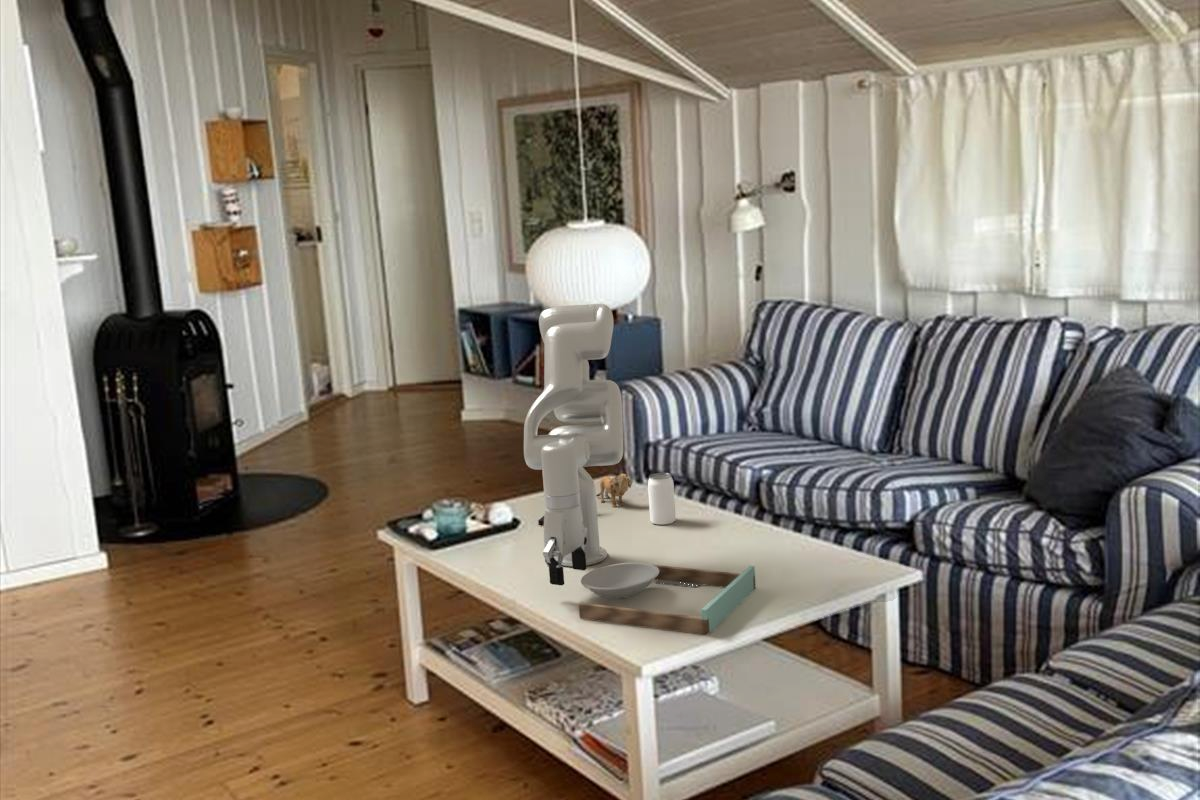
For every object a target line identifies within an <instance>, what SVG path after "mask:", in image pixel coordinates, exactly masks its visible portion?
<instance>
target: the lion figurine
mask: <svg viewBox="0 0 1200 800" xmlns="http://www.w3.org/2000/svg"><path fill="white" fill-rule="evenodd" d="M633 482H634V481H633V480H631V479H630V478H629V477H627V474H626V473H619V474H618V475H615V476H613V477H612V478H611V477H609V476H603V477H602V478H601V479H600V482H599V488H600V492H599V493H598V494H596V498H598V497H600V503H605V501H606V500H605V499H609V498H610V499H611V504H612V505H611V507H612V508H617V507H618V506H617V503H616V497H618V500H617V501H618V504H619V506H624V504H625V503H624V502H623V501H622V499H623V496H624V495H625V493H626V492H628V490H629V488H632V485H633ZM609 494H610V495H609ZM604 498H605V499H604Z"/></svg>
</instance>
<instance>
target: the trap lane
mask: <svg viewBox="0 0 1200 800" xmlns="http://www.w3.org/2000/svg"><path fill="white" fill-rule="evenodd" d="M650 564H651V563H650ZM651 565H654V566H656V567H657V568H658V569H659V575H658V576H657V577H656V578H655V579H658V580H655V579H654V580H655V582H656V583H655V584H660V583H662V585H669V584H673V585H672V586H678V585H682V586H681V587H687V586H691V587H690V588H696V587H698V586H699V585H700V584H705V585H704V586H710V585H712V587H719V586H722V587H721V588H724V589H722V590H721V591H720V592H719V593H718V594H717V595H716V596H714V598H712V599H711V600H709V602H708V603H707V604H706V605H704V606H703V607H702V608H701V610H700V612H701V613H700V614H701V616H694V615H685V614H677V613H670V612H669V613H668V612H661V611H654V610H653V611H652V610H645V609H636V608H628V607H622V606H612V605H606V604H605V605H604V604H597V603H596V604H595V603H589V602H580V603H578V611H579V619H583V620H592V621H600V622H607V623H614V624H620V625H621V624H623V625H630V626H638V627H644V626H645V628H652V627H653V628H652V629H660V628H661V630H668V631H669V630H670V631H677V632H682V631H683V632H684V633H685V632H686V633H691V632H692V634H698V633H700V634H701V635H706V634H708V633H709V634H710V633H711V632H712V631H713V630H714V629H715V628H717V626H718V625H719V624H720V623H722V622H723V620H724V619H726V618H727V617H726V616H729V615H730V614H731V613H732V612H733V611H734V610H735V609H736V608H737V607H738V606H740V604H742V602H743V601H744V600H745V599H746V598H748V597H749V595H751V594H752V593H753V592H754V591H755V590H756V574H755V573H756V571H755V565H749V566H748V567H747V568H745V570H743V571H742V572H741V573H739V572H727V571H717V570H709V569H699V568H690V567H679V566H669V565H659V564H651ZM680 582H681V583H680ZM663 583H664V584H663ZM684 583H685V584H684ZM688 584H689V585H688ZM692 584H693V587H692ZM683 585H684V586H683ZM696 585H697V586H696ZM713 585H714V586H713ZM700 586H701V585H700ZM700 586H699V587H700ZM699 587H698V588H699ZM709 634H708V635H709Z"/></svg>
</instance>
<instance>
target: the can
mask: <svg viewBox="0 0 1200 800" xmlns="http://www.w3.org/2000/svg"><path fill="white" fill-rule="evenodd" d="M648 477H649V478H648V481H647V492H648V507H649V520H650V522H651V524H652V523H653V525H655V524H656V525H655V526H667V524H668V525H671V524H670V523H672V524H674V523H675V522H676V520H677V519H676V518H677V517H676V514H677V513H676V501H675V500H676V499H675V498H676V497H675V487H674V486H675V485H674V480H673V477H672V474H671V473H668V472H657V473H651V474H650V475H649V476H648ZM674 521H675V522H674ZM673 522H674V523H673Z"/></svg>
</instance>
